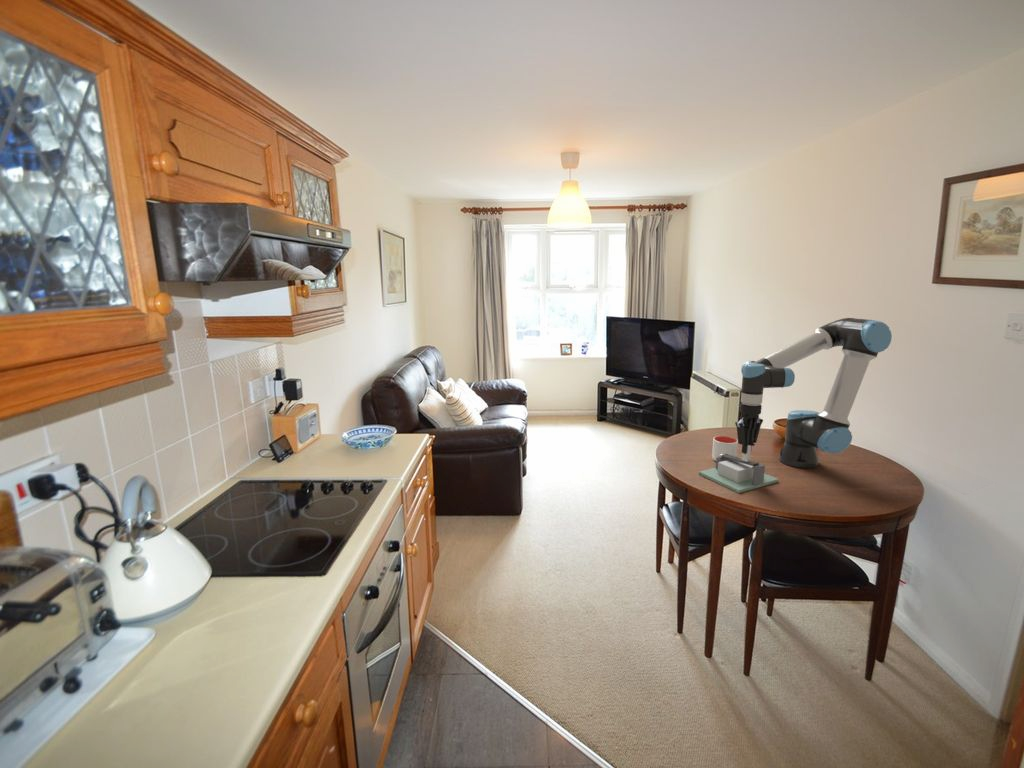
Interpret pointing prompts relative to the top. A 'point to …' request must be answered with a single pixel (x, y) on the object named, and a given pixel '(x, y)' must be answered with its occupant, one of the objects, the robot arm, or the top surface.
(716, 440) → the cup
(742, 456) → the robot arm
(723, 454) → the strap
